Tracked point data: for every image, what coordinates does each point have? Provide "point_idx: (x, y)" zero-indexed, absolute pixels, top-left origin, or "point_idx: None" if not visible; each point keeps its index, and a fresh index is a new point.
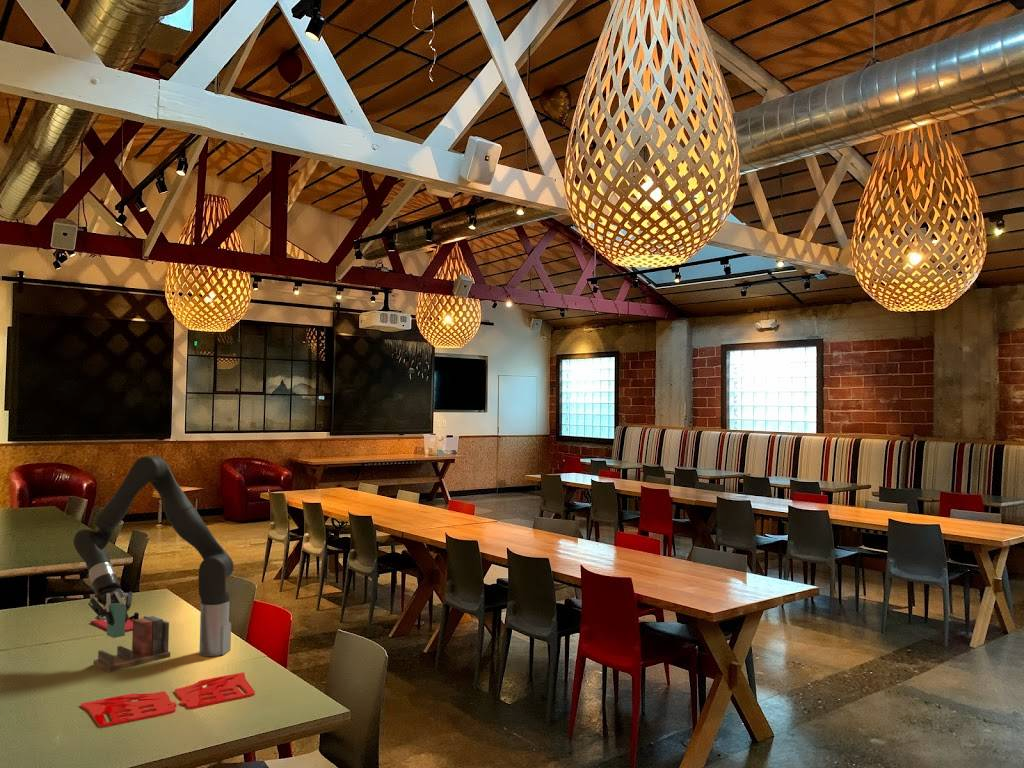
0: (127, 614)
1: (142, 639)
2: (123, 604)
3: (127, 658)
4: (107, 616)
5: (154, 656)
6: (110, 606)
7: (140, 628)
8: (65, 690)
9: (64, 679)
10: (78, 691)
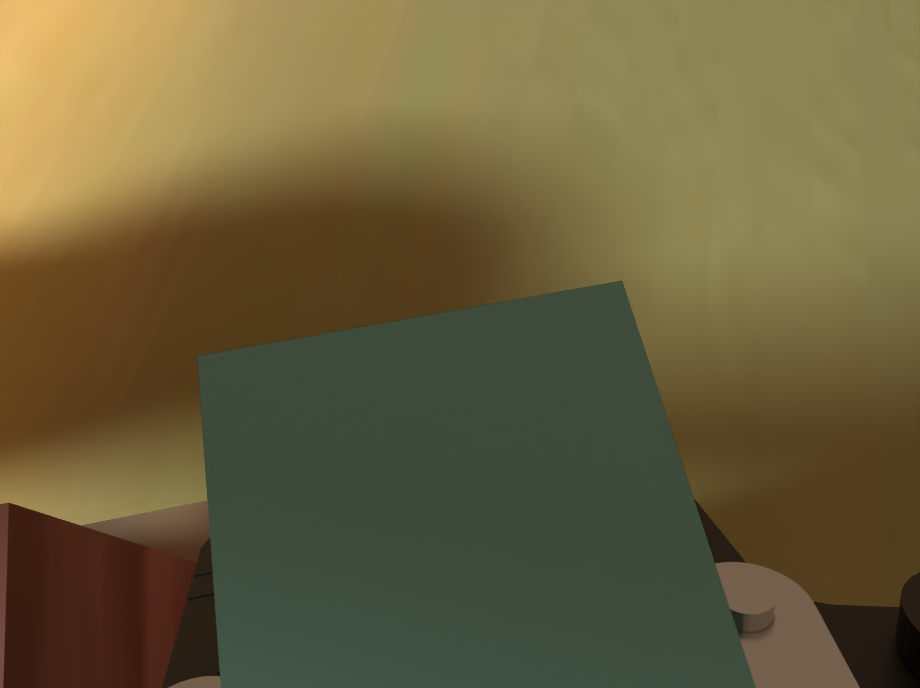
0: (195, 593)
1: (130, 543)
2: (257, 450)
3: None
4: (717, 530)
5: (99, 524)
6: (730, 672)
7: (62, 605)
8: (857, 220)
9: (881, 484)
10: (775, 152)
